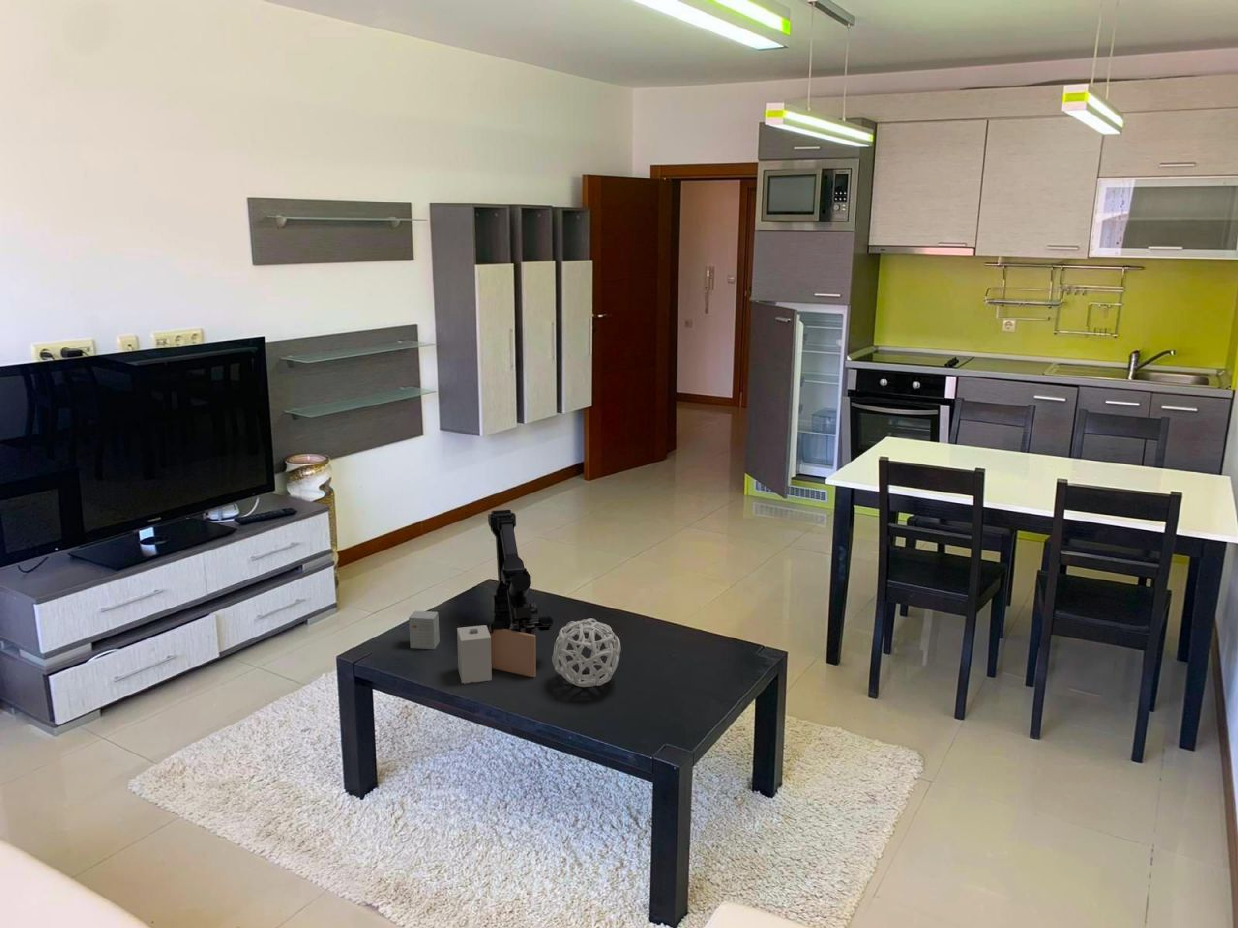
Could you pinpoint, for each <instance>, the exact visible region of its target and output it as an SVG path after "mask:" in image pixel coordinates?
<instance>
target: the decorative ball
mask: <svg viewBox="0 0 1238 928" xmlns="http://www.w3.org/2000/svg"><path fill="white" fill-rule="evenodd" d="M586 633H587V634H588V638H586V636H585V634H586ZM576 635H577V636H578V639H577V640H575V639H574V638H573V637H575V636H576ZM596 635H598V636H599V637H601V639H599V640H595V636H596ZM569 644H570V646H571V647H572V649H567V648H568V645H569ZM602 644H604V646H605V648H603V649H602V650H601V646H602ZM577 646H579V647H577ZM585 647H587V649H589V650H590V651H591V652H590V656H589V657H588V658H587V657H585V656H584V655H583V654H582V652H583V650H584V648H585ZM621 649H622V648H621V643H620V639H619V637H618V636H617V635H616V633H615V632H614V631H613V628H612V627H611V626H610V625H608V624H606V623H602V622H599V621H597V620H596V619H595V618H591V617H590V618H587V619H581V620H578V621H574V620H572V621H569V622H567V623H566V625H564V626H562V627H561V628H560V630H559V633H558V637H557V638H556V641H555V642H554V645H553V655H552V656H551V661H552V662H551V663H552V664H553V666H554V670H555V672H556V673H557V674H559V675H561V676H562V678H564V680H566V681H567V682H568V683H570V684H572V685H574V686H577V687H580V688H587V687H588V688H590V687H592V688H593V687H594V686H595V687H599V686H602V685H604V684H606V683H608V682H610V681H611V679H612V677H613V675H614V673H615V672H616V670H617V668H618V665H619V660H620V653H621ZM567 656H570V657H571V658H572V660H567V658H566V657H567ZM603 656H605V657H606V661H605V662H604V661H602V657H603ZM575 665H577V666H578V671H577V672H576V670H574V669H573V666H575ZM595 666H601V668H599V669H598V670H597V668H596V667H595ZM586 668H588V669H589V674H583V672H584V670H585V669H586ZM600 677H601V678H600Z"/></svg>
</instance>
